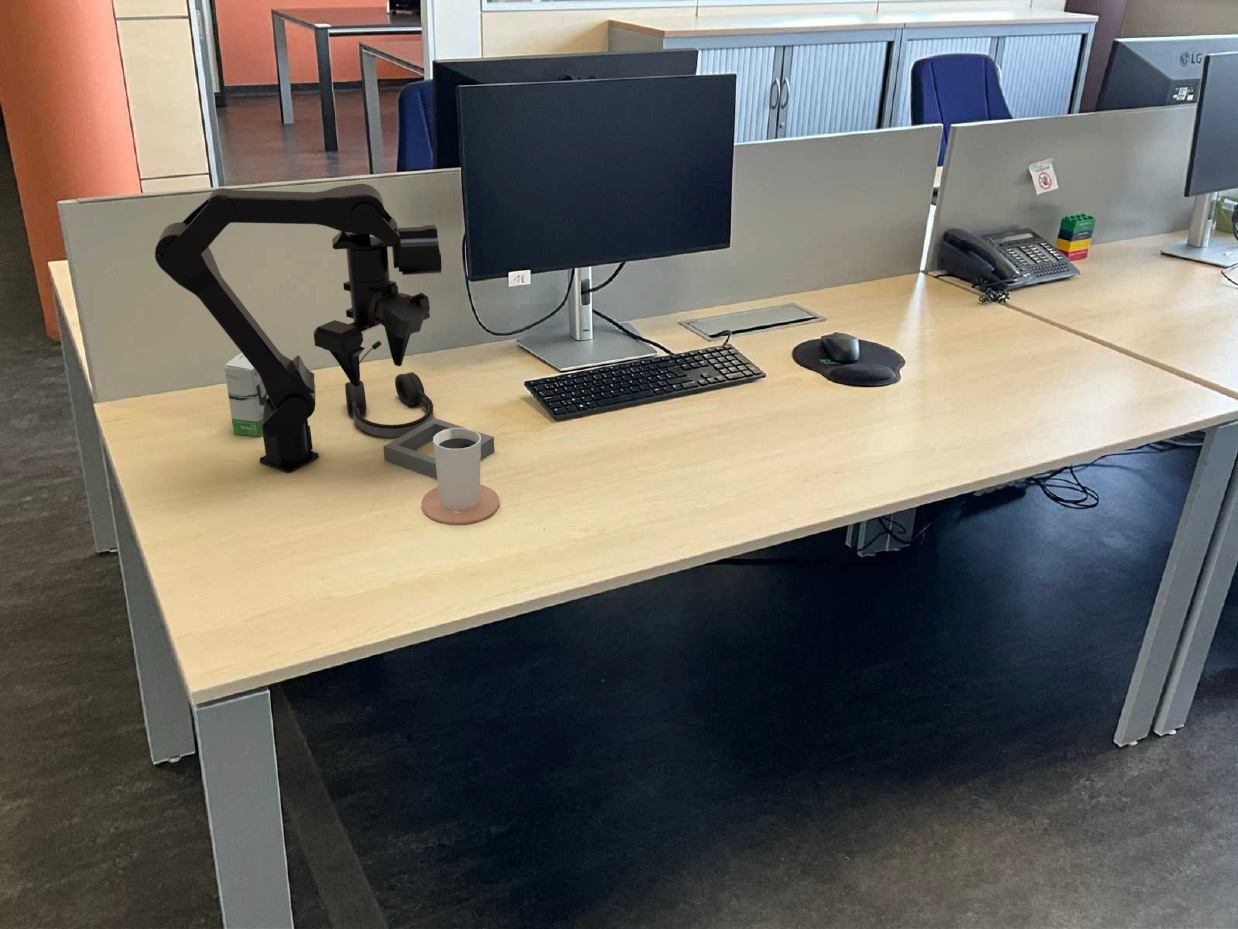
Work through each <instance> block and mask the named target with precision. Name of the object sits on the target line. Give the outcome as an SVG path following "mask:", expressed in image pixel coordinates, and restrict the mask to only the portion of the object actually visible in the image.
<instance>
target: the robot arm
mask: <svg viewBox="0 0 1238 929" xmlns="http://www.w3.org/2000/svg"><path fill="white" fill-rule="evenodd" d="M383 200H384V199H383V196H382V195H381V193H380V192H379V191H378V190H377V189H376V188H375V187H374V186H372V185H370V184H366V183H357V184H350V185H343V186H336V187H333V188H330V189H326V190H322V191H315V192H314V191H313V192H312V191H309V192H308V191H279V190H278V191H274V190H273V191H271V190H269V191H268V190H238V189H237V190H235V189H234V190H233V189H228V188H226V187H225V188H224V187H222V188H216V189H215V190H213V191H212V192H211V193H210V194H209V197H207V199H205V201H204V202H202V203H201V204H200V205H198V207H197V208H195V209H193V210H192V212H190V214H189V215H188V216H186V217H185V218H184V219H183V220H182V222H181V221H180V222H179V221H178V222H173V223H171V224H168V225H167V226H166V227H165V228H163V231H162V232H161V234H160V236H159V239H158V241H157V244H156V246H155V251H154V259H155V262H156V263H157V265H158V267H159V268H160V269H161V270H162V271H163V272H164V273H165V274H167V276H169V277H170V278H171V279H172V280H173V281H174V282H175V283H176V284H177V285H179V286H181V287H182V288H184V289H185V290H187V291H188V292H190V293H192V294H193V295H195V297H197V298H198V299H199V300H200V302H201V303H202V304H203V306H205V308H206V309H207V310H208V312H209V313H210V314H211V315H212V317H213V318H214V319H215V321H216V322H217V324H219V325H220V327H221V328H222V330H223V331H224V332H225V333H226V335H228V337H229V339H230V340H231V341H232V343H234V345H235V346H236V347H237V348H238V349H239V351H240V352H241V353H243V355H244V356H245V357H246V358H247V360H248V361H249V362H250V363H251V365H252V366H253V367H254V368H255V370H256V371H257V372H258V374H259V376H260V378H261V380H262V383H263V385H264V388H265V390H266V393H267V395H268V398H267V399H266V400H265V402H264V412H263V423H262V427H263V428H262V432H263V435H262V438H263V446H264V452H265V453H264V455H263V456H261V457H259V459H258V460H259V463H262V464H264V465H266V466H269V467H272V468H275V469H278V470H280V471H282V472H285V473H292V472H293V471H296V470H298V469H299V468H301V467H303V466H305V465H306V464H309V463H311V462H313V461H315V460H316V459H318V458H319V457H320V453H318V452H316V451H313V441H312V439H313V438H312V432H311V431H312V430H311V426H310V425H309V421H308V419H309V418H310V417H312V415H313V413H314V412H315V409H316V384H315V373H314V372H312V371H311V370H309V369H308V368H307V366H306V365H305V362H304V361H303V360H302V357H301V356H300V355H297V356H295V357H294V358H293V359H291V358H289V357H287V356H286V355H283V353H281V352H280V350H279V349H278V348H277V346H276V345H275V343H273V341H272V340H271V339H270V337H269V336H268V334H266V332H265V331H264V330H263V329H262V326H260V325H259V323H258V321H256V319H255V317H253V315H252V314H251V313H250V312H249V310H248V308H246V306H245V305H244V303H243V302H242V301H241V299H239V297H238V296H237V294H236V293H235V292H234V291H233V289H232V288H231V287H230V286H229V284H228V283H227V282H226V281H225V279H224V278H223V276H222V274H221V272H220V269H219V266H218V264H217V263H216V260H215V258H214V255H213V253H212V250H211V249H210V246H211V245H212V243H213V242H214V241H215V239H217V237H218V236H219V235H220V234H221V233H222V232H223V231H224V230H225V228H226V227H228V226H229V224H232V223H236V224H239V223H240V224H286V225H287V224H288V225H318V226H323V227H327V228H330V229H333V230H336V231H339V232H338V233H337V234H336V235H335V236H334V237H333V238H332V239H331V240H332V242H331V244H332V249H334V250H346V259H347V260H346V261H347V272H348V280H347V281H346V282H343V290H344V291H347V292H349V294H350V303H351V304H350V305H351V308H348V309H345V315H346V318H350V319H353V322H351V323H346V322H343V321H341V320H340V321H339V320H336V319H334V320H332V321H329V322H327V323H325V324H322V325H319V326H317V327H316V328H315V329H314V331H313V341H314V347H318V348H321V349H322V350H324V351H325V350H326V351H328V352H330V354H331V355H332V357H334V359H335V360H336V362H337V363H338V365H339V366H340V368H341V370H343V372H344V374H345V375H346V377H347V378H348V380H349V382H351V383H352V385H353V386H356V387H358V386H359V385H360V381H361V374H360V373H361V372H360V371H361V368H360V364H359V362H360V356H361V354H362V353H363V351H364V350H365V348H366V347H364V346H362V344H363V342H364V336H363V335H364V334H365V333H367V332H370V331H371V330H372V331H373V329H376V328H378V327H381V326H383V327H384V331H385V334H386V339H387V343H388V347H389V351H390V355H391V358H392V361H393V364H394V366H396V367H402V365H403V361H404V357H405V354H406V350H407V346H408V344H409V341H410V337H411V335H413V334H415V333H419V332H421V329H422V326H423V323H424V321H425V320H427V319H429V318H430V316H431V315H430V309H431V306H430V305H431V304H430V301H429V296H428V295H426V294H424V293H423V292H419V293H417V294H415V295H411V294H407V293H403V292H400V293H399V286H398V285H397V282H396V281H393V280H391V279H390V278H391V277H390V267H389V266H390V265H389V254H388V253H389V252H388V248H391V255H392V264H393V269H398V272H399V273H401V275H402V276H409V275H410V276H411V275H431V274H432V275H433V274H442V269H443V268H442V253H441V250H440V246H439V238H438V236H439V235H438V229H437V225H435V224H432V225H431V224H430V225H424V226H412V227H409V226H407V227H399V226H398V223H397V221H396V219H395V218H393V217H392V216H391V214H390V213H389V212H388V211H387V210H386V209H385V205H384V201H383Z"/></svg>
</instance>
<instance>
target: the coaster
mask: <svg viewBox="0 0 1238 929" xmlns="http://www.w3.org/2000/svg"><path fill="white" fill-rule="evenodd" d="M499 508H500V498H499V496H498V494H497V492H496V491H495V490H494V489H492V488H490V487H488V486H486V485H483V484H481V483H480V502H479V503H478V505H477V506H475V507H473V508H471V509H467V510H460V511H455V510H449V509H447V508H444V507H443V506H442V505H441V504H440V499H439V490H438V486H436V487H434V488H432V489H430V490H429V491H428V492H427V493H426V494H424V496H422V499H421V509H422V513H423V514H424V515H425V517H428V518H429V519H431V520H432V521H435V522H437V523H441V524H446V525H452V526H453V525H454V526H455V525H457V526H458V525H468V524H469V525H470V524H471V525H472V524H475V523H479V522H481V521H484V520H487V519H488V518H490V517H491V516H493V515H494V514H495V513H496V512H497V511H498V509H499Z"/></svg>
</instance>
